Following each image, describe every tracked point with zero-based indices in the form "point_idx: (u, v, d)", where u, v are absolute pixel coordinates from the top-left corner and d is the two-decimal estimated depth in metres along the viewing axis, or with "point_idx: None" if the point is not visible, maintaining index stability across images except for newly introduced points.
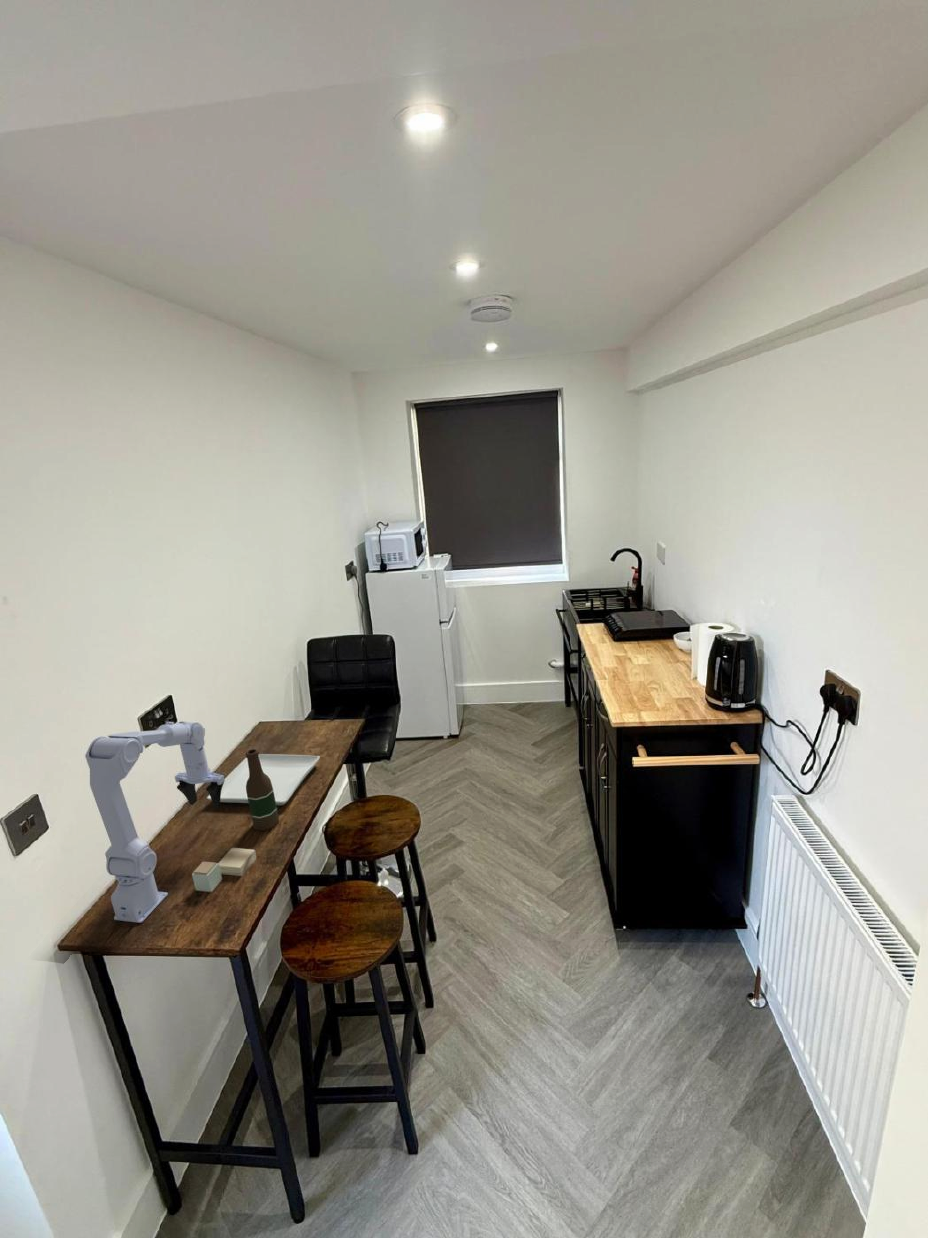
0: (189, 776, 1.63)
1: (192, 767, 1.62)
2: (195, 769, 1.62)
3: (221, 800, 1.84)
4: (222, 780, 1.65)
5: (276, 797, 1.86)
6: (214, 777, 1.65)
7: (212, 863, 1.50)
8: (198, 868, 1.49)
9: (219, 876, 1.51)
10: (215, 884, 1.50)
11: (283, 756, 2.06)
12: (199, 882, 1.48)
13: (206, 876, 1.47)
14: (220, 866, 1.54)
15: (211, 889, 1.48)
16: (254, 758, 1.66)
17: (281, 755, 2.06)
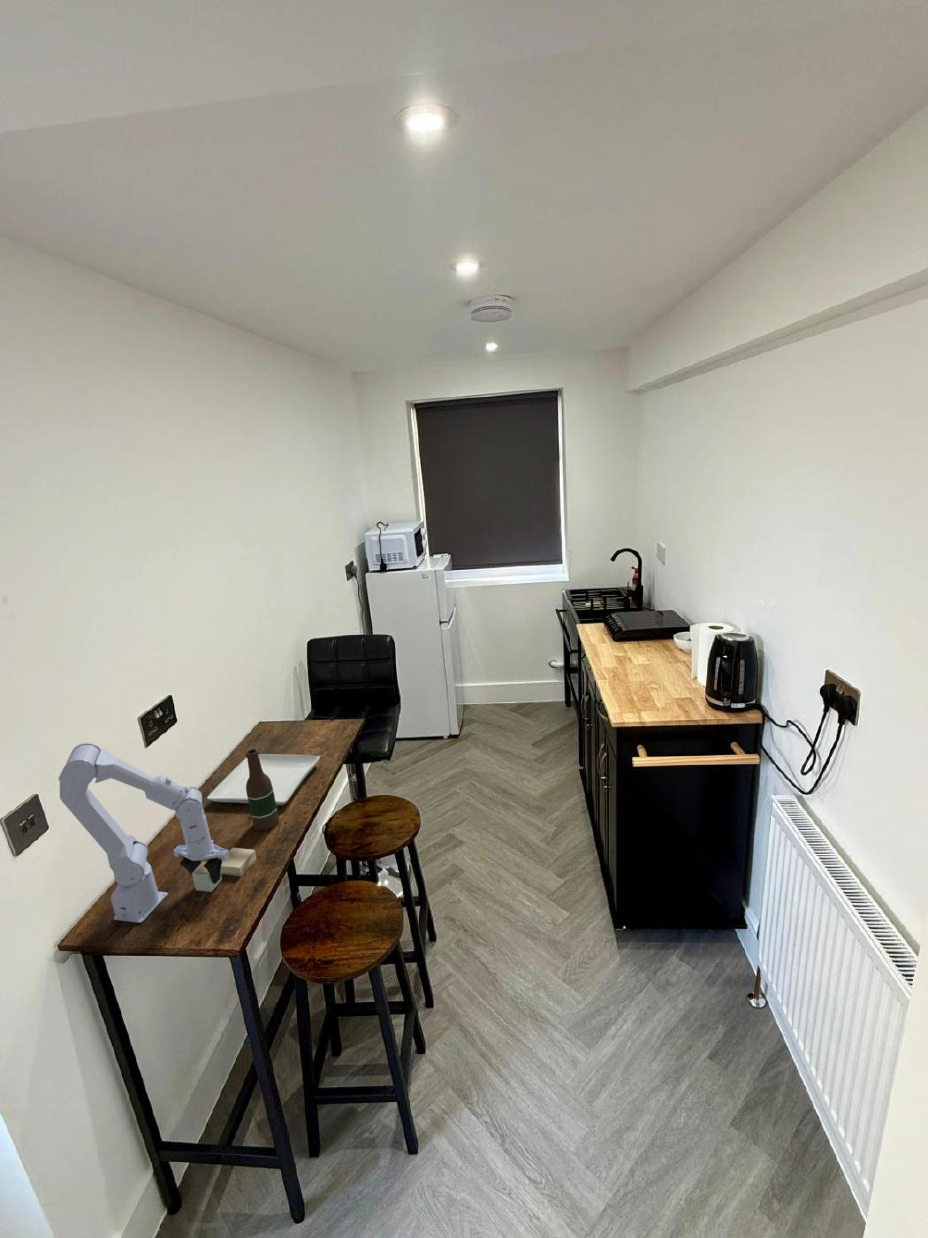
0: (190, 852, 1.45)
1: (193, 842, 1.44)
2: (196, 844, 1.44)
3: (221, 800, 1.84)
4: (227, 855, 1.46)
5: (276, 797, 1.86)
6: (218, 852, 1.46)
7: None
8: (198, 868, 1.49)
9: None
10: (215, 884, 1.50)
11: (283, 756, 2.06)
12: (199, 881, 1.48)
13: (206, 876, 1.47)
14: None
15: (211, 889, 1.48)
16: (254, 758, 1.66)
17: (281, 755, 2.06)
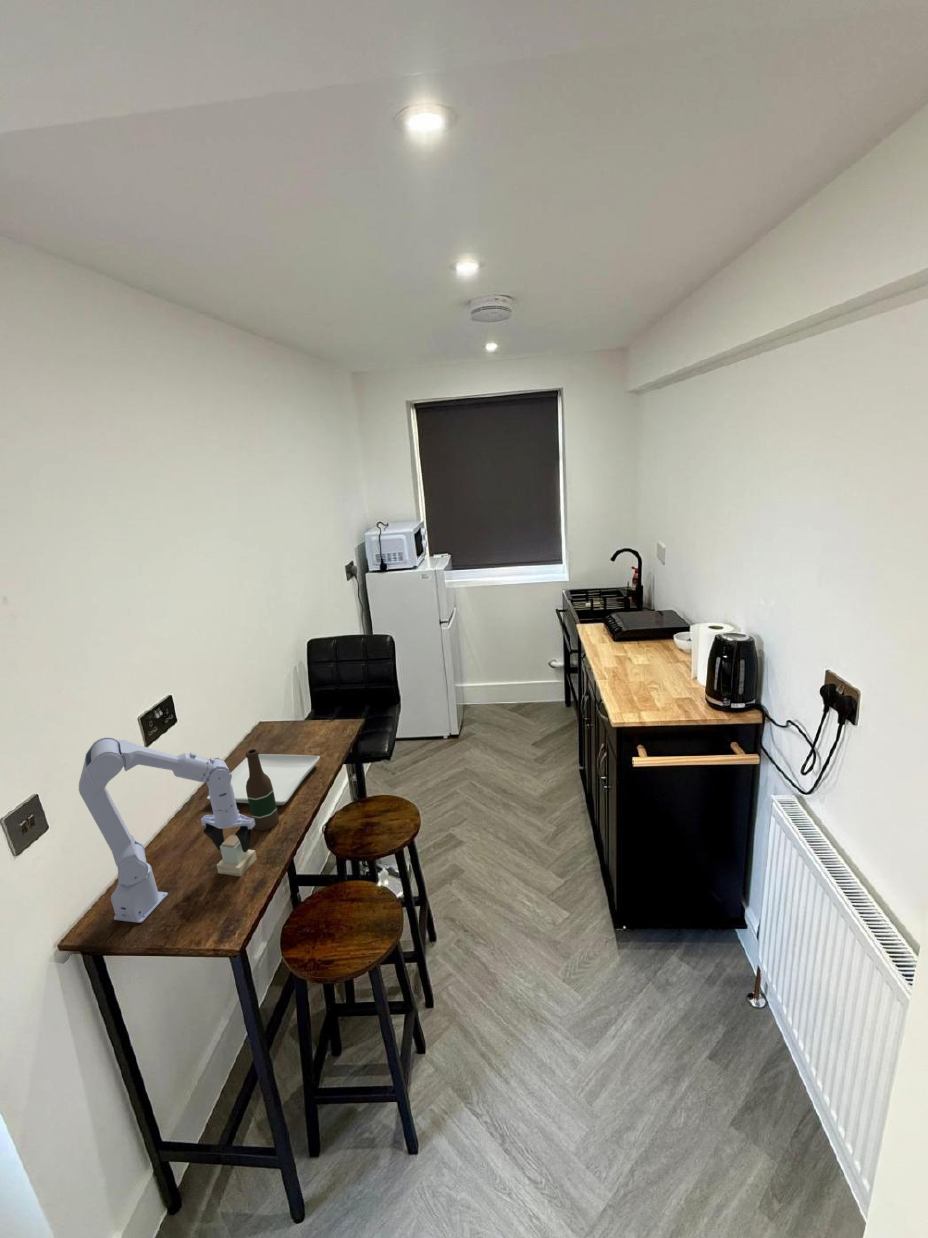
0: (217, 820, 1.50)
1: (221, 811, 1.49)
2: (224, 813, 1.49)
3: None
4: (253, 824, 1.51)
5: (276, 797, 1.86)
6: (244, 821, 1.51)
7: None
8: (226, 841, 1.54)
9: None
10: (242, 857, 1.55)
11: (283, 756, 2.06)
12: (226, 854, 1.53)
13: (233, 848, 1.52)
14: (220, 866, 1.54)
15: (238, 861, 1.54)
16: (254, 758, 1.67)
17: (281, 755, 2.06)
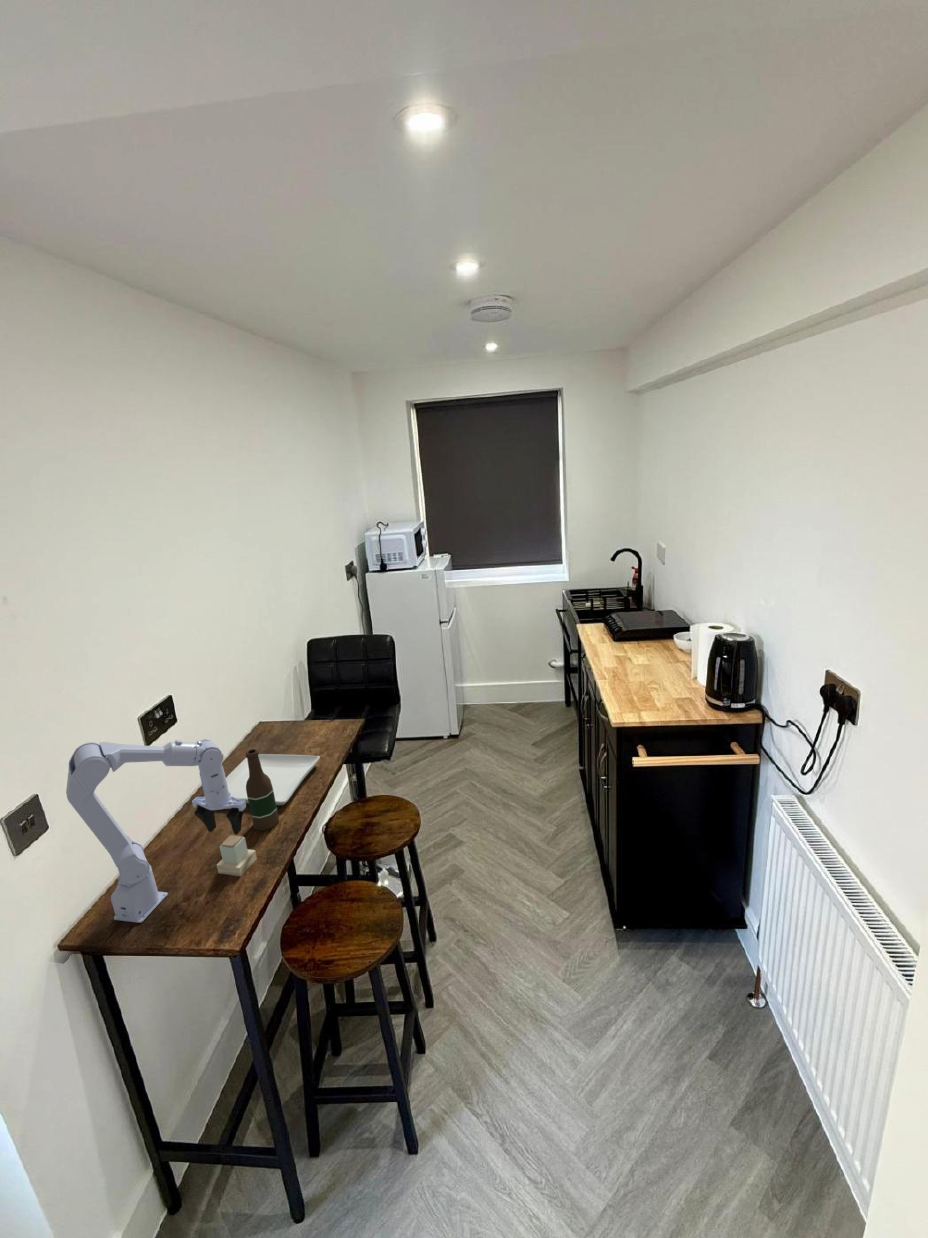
0: (208, 802, 1.49)
1: (211, 792, 1.48)
2: (214, 794, 1.49)
3: None
4: (244, 806, 1.51)
5: (276, 797, 1.86)
6: (235, 803, 1.51)
7: (239, 837, 1.56)
8: (225, 841, 1.54)
9: (245, 849, 1.57)
10: (241, 857, 1.55)
11: (283, 756, 2.06)
12: (226, 854, 1.53)
13: (233, 849, 1.52)
14: (220, 866, 1.54)
15: (238, 861, 1.54)
16: (254, 758, 1.66)
17: (281, 755, 2.06)
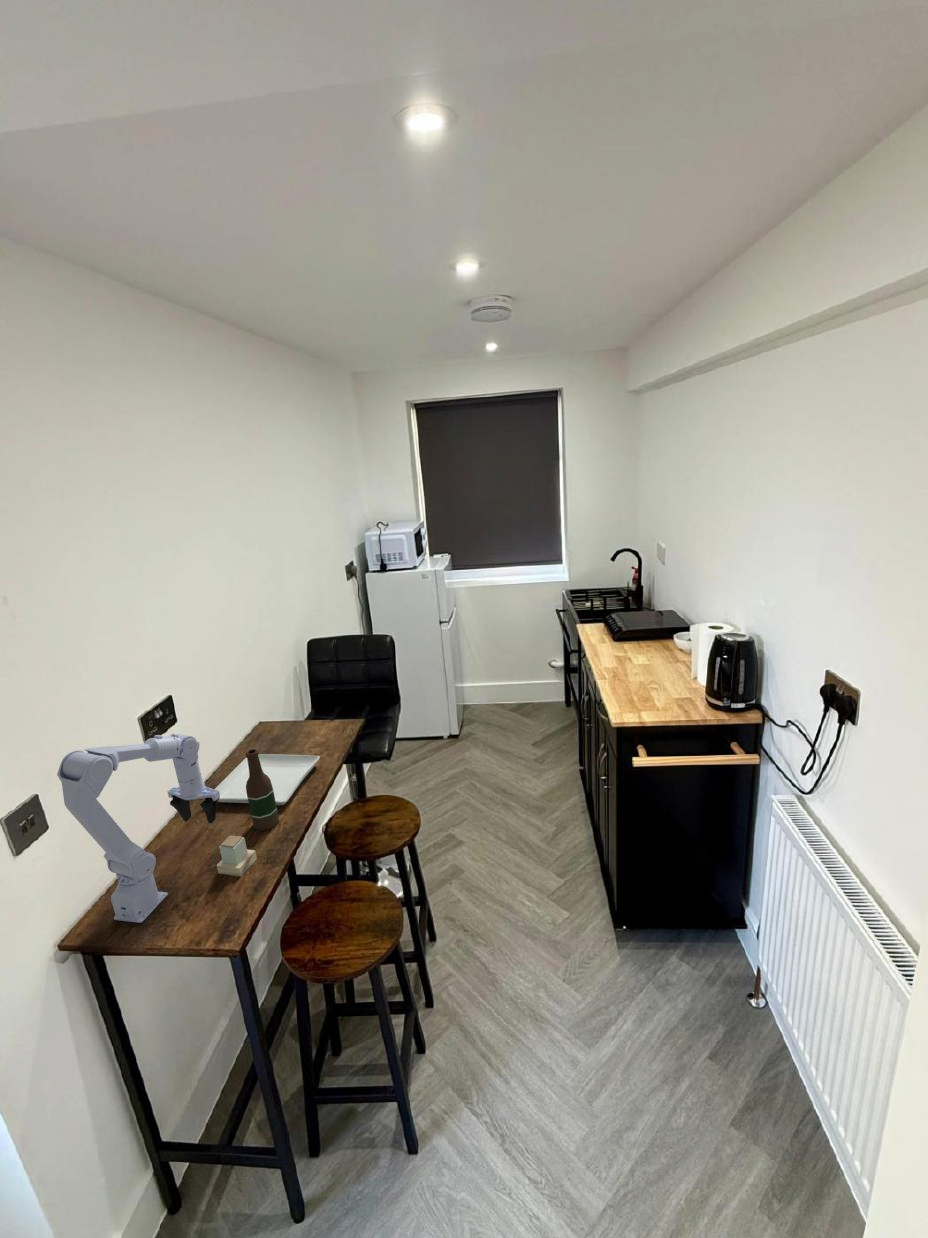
0: (182, 792, 1.55)
1: (186, 782, 1.54)
2: (189, 784, 1.54)
3: (221, 800, 1.84)
4: (217, 796, 1.56)
5: (276, 797, 1.86)
6: (209, 792, 1.56)
7: (238, 837, 1.56)
8: (225, 841, 1.54)
9: (245, 850, 1.57)
10: (241, 857, 1.55)
11: (283, 756, 2.06)
12: (225, 854, 1.53)
13: (233, 849, 1.52)
14: (220, 866, 1.54)
15: (237, 862, 1.53)
16: (254, 758, 1.66)
17: (281, 755, 2.06)
